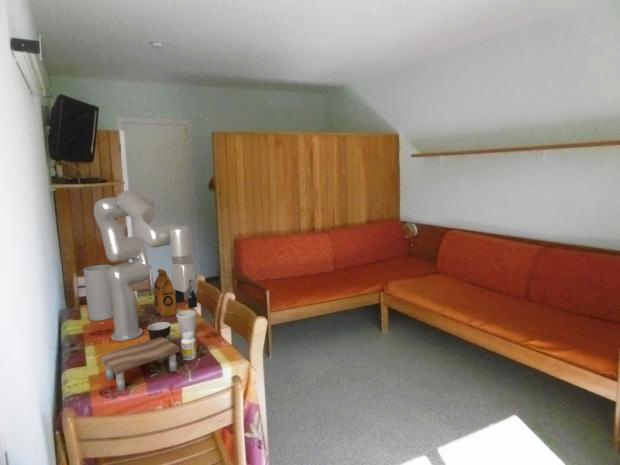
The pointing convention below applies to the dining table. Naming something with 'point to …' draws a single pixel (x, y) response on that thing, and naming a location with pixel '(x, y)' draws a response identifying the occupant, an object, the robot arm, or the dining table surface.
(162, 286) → the coffee package
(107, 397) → the dining table surface
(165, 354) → the small wooden riser
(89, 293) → the cylinder vase
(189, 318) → the dixie cup
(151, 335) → the coffee mug
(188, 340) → the supplement bottle
